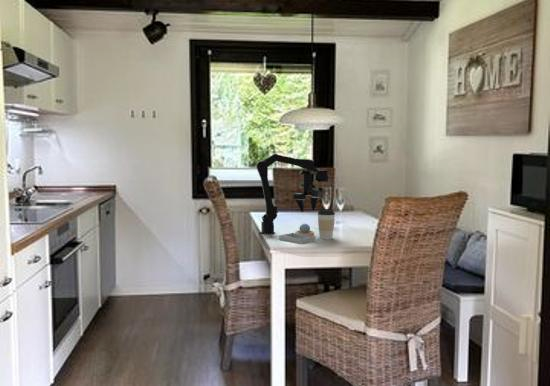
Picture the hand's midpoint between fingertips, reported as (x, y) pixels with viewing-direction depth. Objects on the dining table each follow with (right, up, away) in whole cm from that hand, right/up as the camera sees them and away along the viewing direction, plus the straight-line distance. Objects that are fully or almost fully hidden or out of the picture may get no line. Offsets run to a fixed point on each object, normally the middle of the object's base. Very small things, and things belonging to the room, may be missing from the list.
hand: (307, 211), depth 289 cm
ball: (-2, -12, -6) cm, 14 cm away
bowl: (-2, -13, -6) cm, 14 cm away
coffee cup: (+9, -14, -13) cm, 20 cm away
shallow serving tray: (-7, -14, -20) cm, 25 cm away
